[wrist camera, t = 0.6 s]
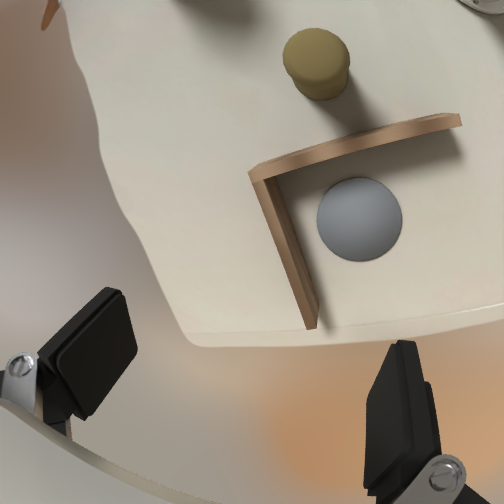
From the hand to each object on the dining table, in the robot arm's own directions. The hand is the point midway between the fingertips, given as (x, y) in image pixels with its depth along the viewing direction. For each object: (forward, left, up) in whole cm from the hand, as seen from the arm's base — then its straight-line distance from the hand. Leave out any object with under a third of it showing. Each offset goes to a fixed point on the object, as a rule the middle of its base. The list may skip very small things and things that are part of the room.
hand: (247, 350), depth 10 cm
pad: (-4, +6, -27) cm, 28 cm away
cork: (-5, -11, -27) cm, 29 cm away
